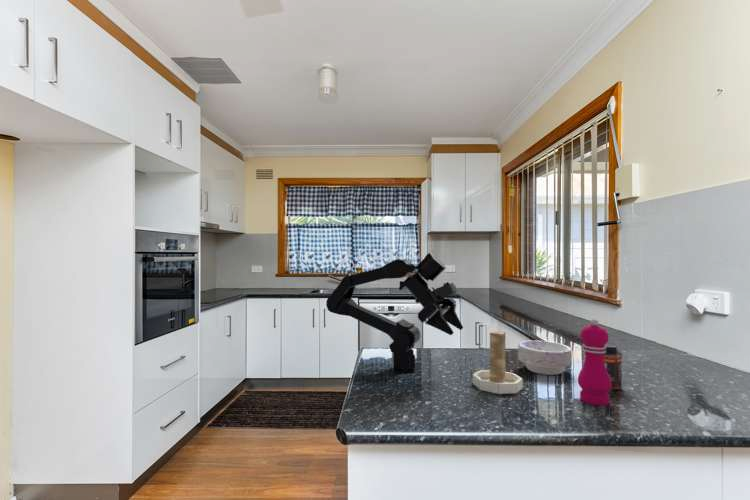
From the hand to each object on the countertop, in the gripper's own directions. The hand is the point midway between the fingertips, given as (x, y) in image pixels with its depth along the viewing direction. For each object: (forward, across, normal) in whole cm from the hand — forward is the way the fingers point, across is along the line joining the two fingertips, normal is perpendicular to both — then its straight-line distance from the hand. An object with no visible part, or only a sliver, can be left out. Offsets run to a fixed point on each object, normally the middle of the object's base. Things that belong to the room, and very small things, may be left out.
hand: (457, 331), depth 110 cm
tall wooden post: (+17, 0, +1) cm, 17 cm away
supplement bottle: (+37, +14, -17) cm, 43 cm away
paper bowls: (+25, +22, -5) cm, 33 cm away
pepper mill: (+34, 0, -14) cm, 37 cm away
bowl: (+18, 0, +2) cm, 18 cm away
